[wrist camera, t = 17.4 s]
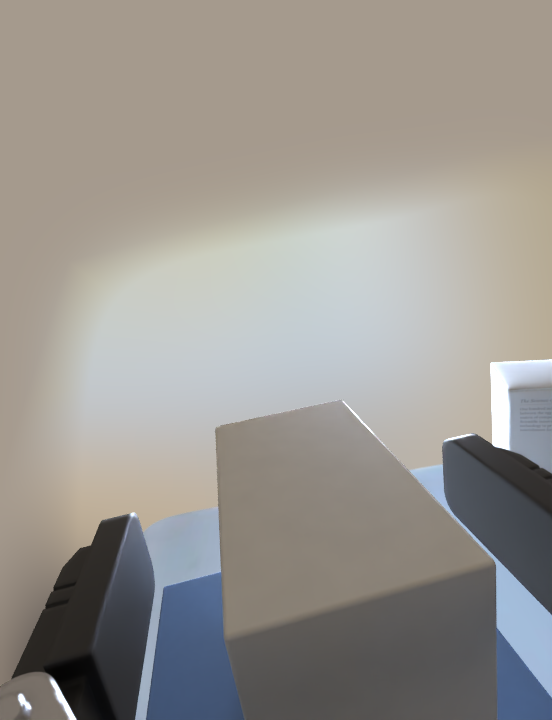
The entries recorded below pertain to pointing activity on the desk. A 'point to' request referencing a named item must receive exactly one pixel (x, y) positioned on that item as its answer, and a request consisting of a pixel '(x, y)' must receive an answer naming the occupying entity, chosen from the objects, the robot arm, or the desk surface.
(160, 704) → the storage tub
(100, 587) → the robot arm
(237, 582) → the white case
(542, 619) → the desk surface
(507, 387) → the cosmetics box
